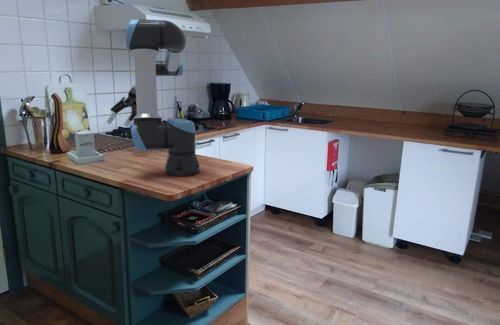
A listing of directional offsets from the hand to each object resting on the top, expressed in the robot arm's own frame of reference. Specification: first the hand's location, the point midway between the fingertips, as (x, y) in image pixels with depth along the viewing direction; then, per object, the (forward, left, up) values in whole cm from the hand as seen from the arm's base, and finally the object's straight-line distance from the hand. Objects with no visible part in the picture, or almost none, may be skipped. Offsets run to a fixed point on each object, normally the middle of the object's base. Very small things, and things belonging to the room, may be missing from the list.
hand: (116, 124), depth 199 cm
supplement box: (-2, +17, -15) cm, 23 cm away
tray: (-2, +17, -15) cm, 23 cm away
